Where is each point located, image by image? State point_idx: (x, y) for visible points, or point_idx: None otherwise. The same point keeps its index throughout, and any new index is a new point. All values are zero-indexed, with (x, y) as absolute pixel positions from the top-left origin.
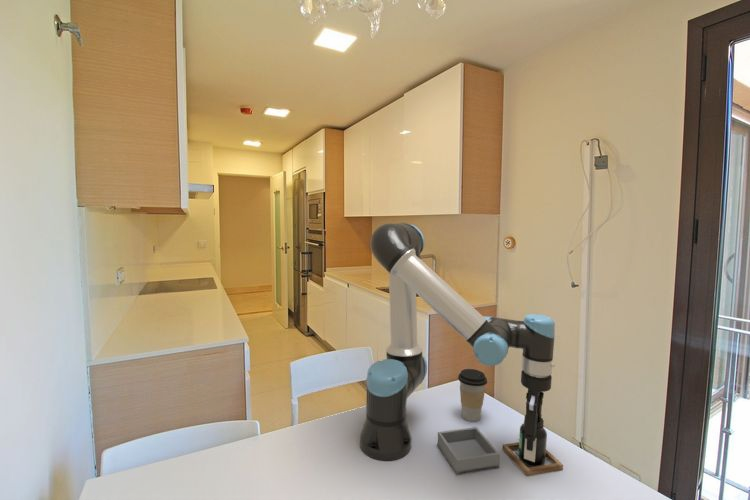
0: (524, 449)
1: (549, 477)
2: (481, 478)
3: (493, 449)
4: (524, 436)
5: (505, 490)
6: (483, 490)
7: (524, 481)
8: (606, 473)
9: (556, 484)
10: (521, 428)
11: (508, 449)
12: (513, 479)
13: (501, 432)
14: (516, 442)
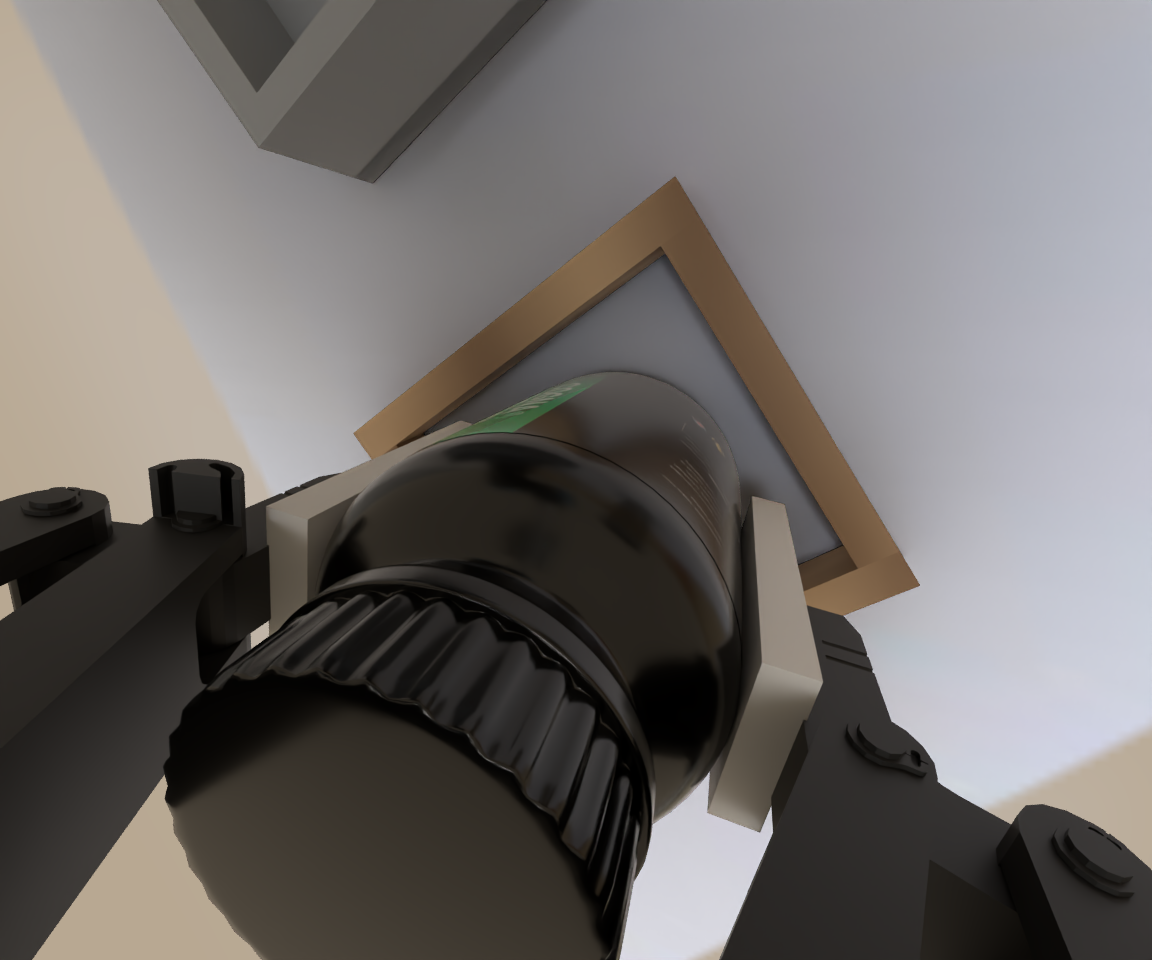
0: (408, 446)
1: None
2: (177, 34)
3: (294, 46)
4: (14, 500)
5: (171, 257)
6: (80, 82)
7: (324, 400)
8: (654, 938)
9: None
10: (430, 470)
11: (597, 259)
12: (303, 317)
13: (1127, 139)
14: (780, 357)
